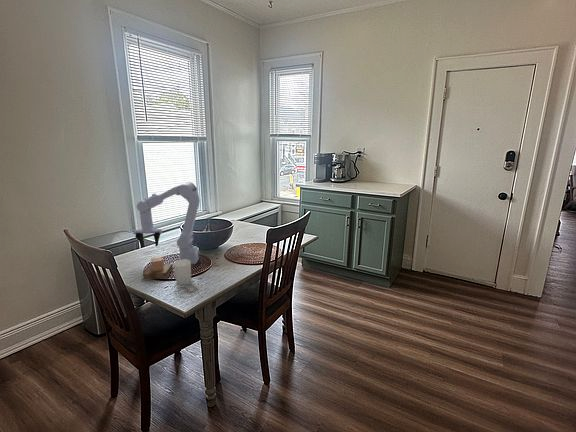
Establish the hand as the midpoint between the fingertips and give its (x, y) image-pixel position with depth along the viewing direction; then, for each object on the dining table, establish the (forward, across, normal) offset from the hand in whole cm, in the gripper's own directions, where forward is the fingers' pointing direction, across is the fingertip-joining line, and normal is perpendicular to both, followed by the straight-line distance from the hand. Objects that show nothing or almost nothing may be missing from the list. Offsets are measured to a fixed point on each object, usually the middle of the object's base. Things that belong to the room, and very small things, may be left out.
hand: (149, 245), depth 174 cm
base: (+9, -9, +17) cm, 21 cm away
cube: (+6, -9, +17) cm, 20 cm away
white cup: (+10, -24, +27) cm, 37 cm away
